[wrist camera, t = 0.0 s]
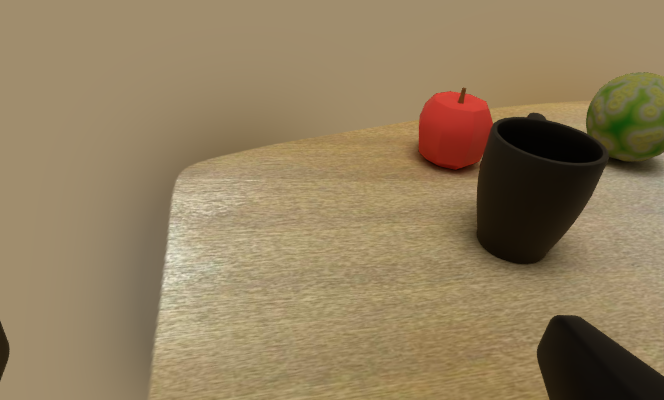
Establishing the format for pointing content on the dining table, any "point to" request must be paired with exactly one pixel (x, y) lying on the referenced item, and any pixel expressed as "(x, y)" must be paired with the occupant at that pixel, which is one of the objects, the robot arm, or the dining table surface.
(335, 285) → the dining table surface
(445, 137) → the apple
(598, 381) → the robot arm
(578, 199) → the mug
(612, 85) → the decorative ball
